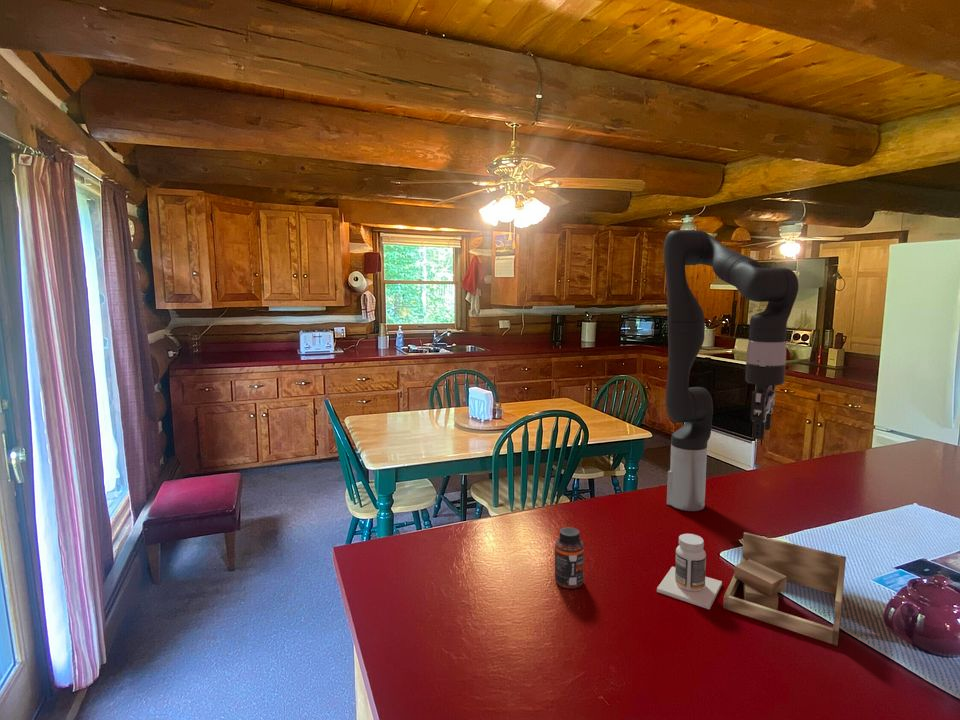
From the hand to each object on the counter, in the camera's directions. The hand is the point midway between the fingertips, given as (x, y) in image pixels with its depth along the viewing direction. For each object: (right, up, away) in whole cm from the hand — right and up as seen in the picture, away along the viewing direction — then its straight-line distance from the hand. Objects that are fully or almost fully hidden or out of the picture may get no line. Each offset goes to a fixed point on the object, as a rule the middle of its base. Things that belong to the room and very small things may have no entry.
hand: (761, 433), depth 115 cm
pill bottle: (-20, -30, -9) cm, 37 cm away
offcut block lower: (-7, -31, -12) cm, 34 cm away
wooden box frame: (-3, -31, -14) cm, 34 cm away
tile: (-20, -30, -9) cm, 37 cm away
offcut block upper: (-7, -28, -12) cm, 31 cm away
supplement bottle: (-44, -30, -6) cm, 54 cm away
